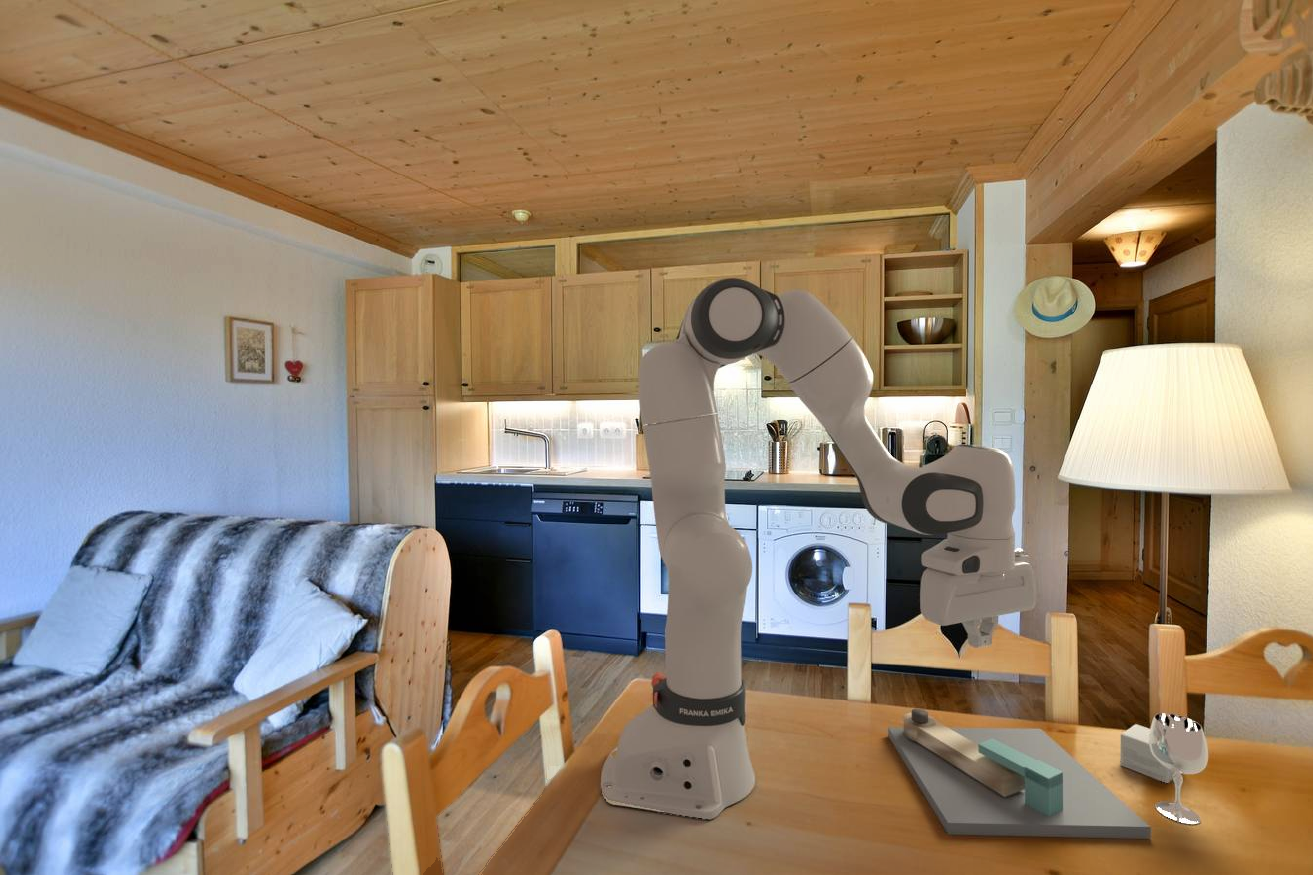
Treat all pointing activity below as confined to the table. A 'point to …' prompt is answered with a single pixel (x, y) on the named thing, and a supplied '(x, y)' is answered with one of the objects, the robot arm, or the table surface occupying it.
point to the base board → (989, 813)
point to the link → (961, 753)
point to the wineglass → (1178, 758)
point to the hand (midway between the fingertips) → (979, 645)
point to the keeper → (1030, 776)
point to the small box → (1141, 754)
